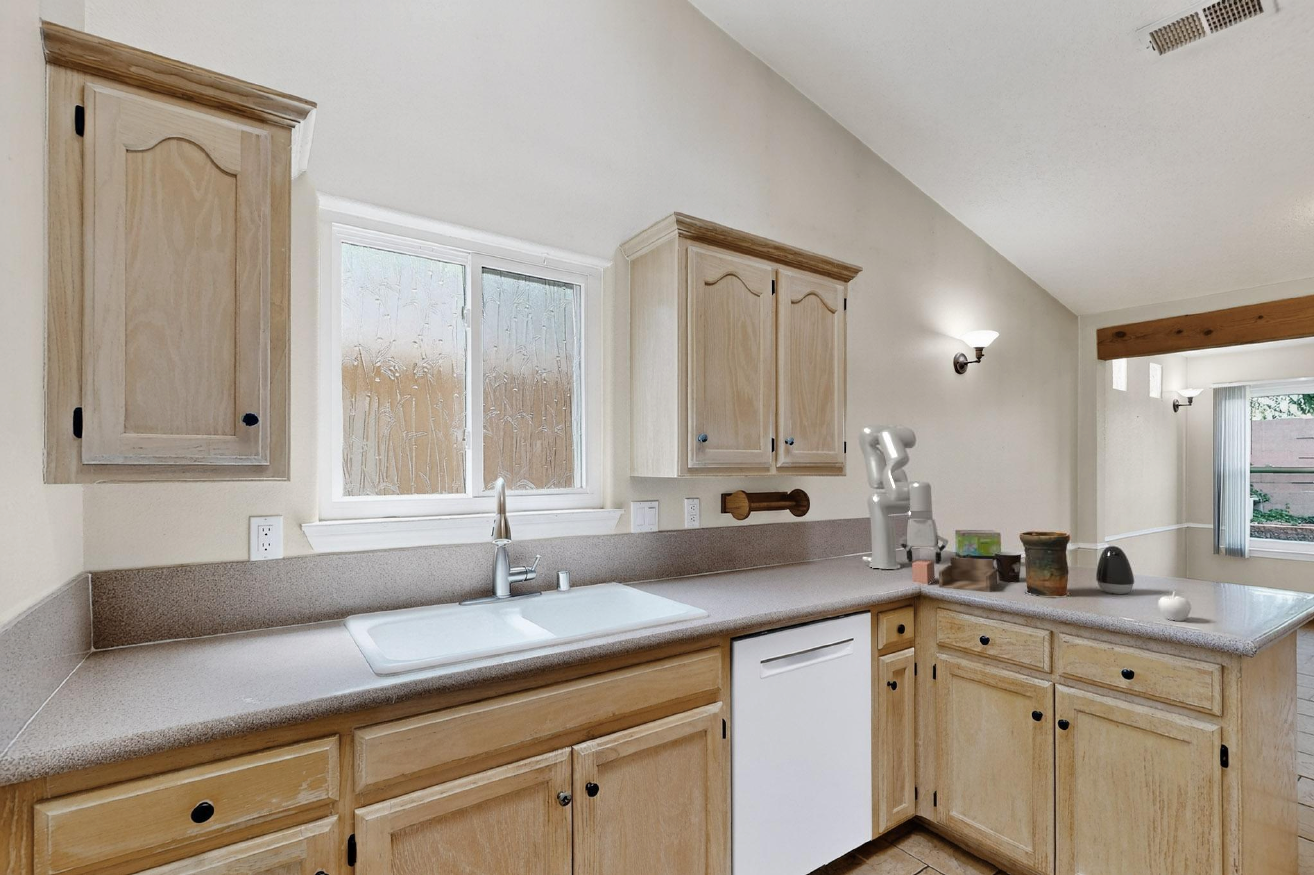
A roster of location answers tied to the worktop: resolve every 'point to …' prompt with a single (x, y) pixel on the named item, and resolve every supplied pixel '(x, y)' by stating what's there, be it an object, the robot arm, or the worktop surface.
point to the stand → (969, 575)
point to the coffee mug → (1008, 566)
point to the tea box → (977, 544)
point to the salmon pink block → (923, 571)
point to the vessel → (1046, 563)
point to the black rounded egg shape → (1114, 571)
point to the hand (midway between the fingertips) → (924, 562)
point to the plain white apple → (1174, 607)
